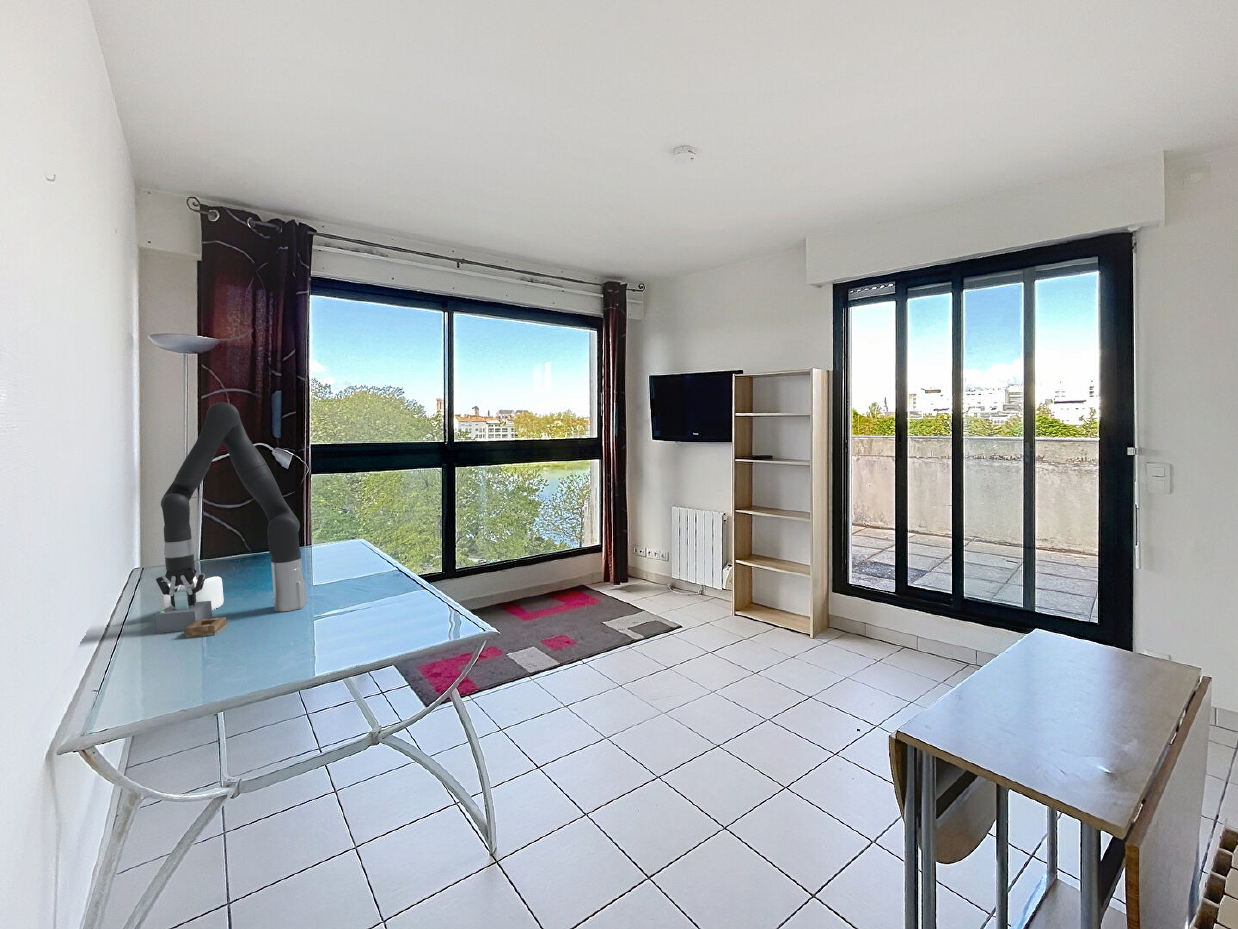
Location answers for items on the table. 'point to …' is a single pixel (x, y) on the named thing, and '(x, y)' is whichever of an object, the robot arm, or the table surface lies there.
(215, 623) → the brown wooden square block
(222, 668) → the table surface
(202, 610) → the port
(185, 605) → the pale turquoise box
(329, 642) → the table surface
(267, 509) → the robot arm
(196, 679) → the table surface
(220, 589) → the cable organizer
